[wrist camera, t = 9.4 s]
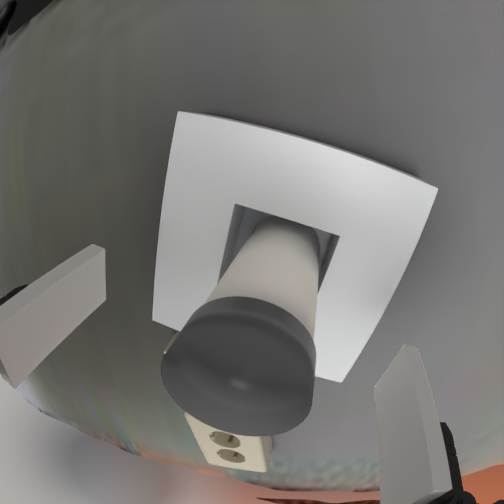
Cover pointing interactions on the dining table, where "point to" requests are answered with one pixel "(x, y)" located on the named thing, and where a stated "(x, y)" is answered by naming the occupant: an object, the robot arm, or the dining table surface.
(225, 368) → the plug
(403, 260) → the socket block
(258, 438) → the electrical outlet
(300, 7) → the dining table surface
